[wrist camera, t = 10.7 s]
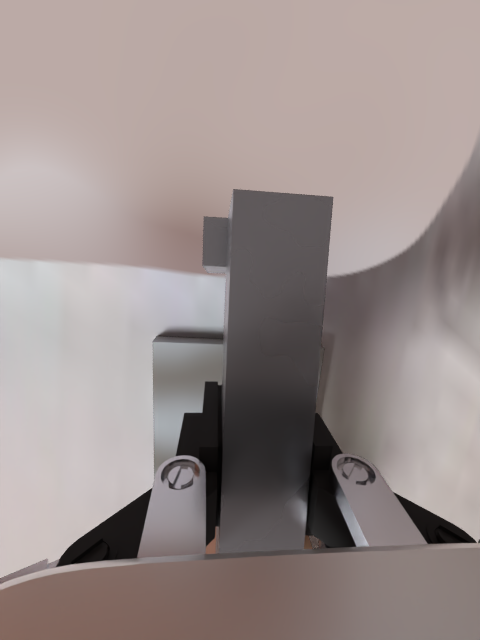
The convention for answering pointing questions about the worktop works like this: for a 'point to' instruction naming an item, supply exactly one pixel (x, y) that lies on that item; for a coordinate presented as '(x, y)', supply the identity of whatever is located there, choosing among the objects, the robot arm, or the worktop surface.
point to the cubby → (184, 388)
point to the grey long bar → (268, 361)
